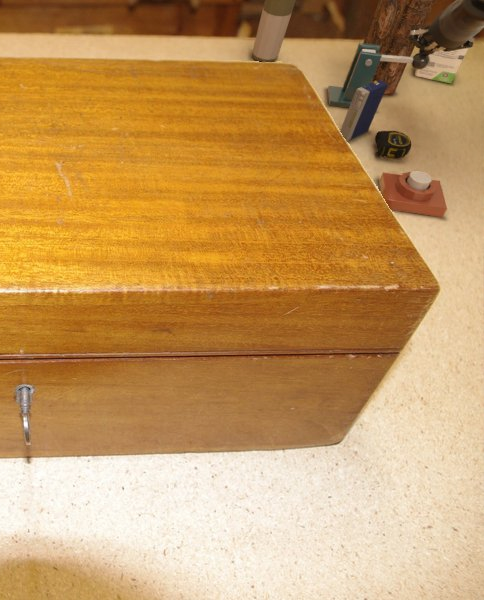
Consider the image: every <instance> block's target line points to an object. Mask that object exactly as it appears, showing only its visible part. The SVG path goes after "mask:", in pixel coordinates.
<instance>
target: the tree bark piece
mask: <svg viewBox="0 0 484 600" xmlns="http://www.w3.org/2000/svg"><path fill="white" fill-rule="evenodd" d="M435 3H436V0H378V2H377V5H376V9H375V12H374V14H373V17H372V18H371V21H370V24H369V27H368V29H367V31H366V35H365V37H364V40H363V42H362V43H366V44H374V45H380V49H379V51H378V53H379V54H382V55H393V56H405V57H412V55H413V52H414V49H415V48H416V46H415V45H414V44H413V43H412V42H411V41H410V40H409V36H410V31H411V27H418V28H419V29H421V30H422V29H424V28H425V27H424V26H425V24H426V22H427V20H428V18H429V15H430V13H431V11H432V8H433V6H434V4H435ZM407 65H408V63H399V62H387V61H380V62H379V64H378V67H377V69H376V72H375V74H374V76H373V79H372V81H371V83H373V82H374V81H377V80H381V81H383V82H385V83H386V84H388V85H387V88H386V90H385V92H384V95H383V97H388V96H393V95H394V94H395V92H396V90H397V88H398V86H399V83H400V81H401V79H402V76H403V74H404V72H405V70H406V68H407Z"/></svg>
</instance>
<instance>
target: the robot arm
mask: <svg viewBox="0 0 484 600" xmlns="http://www.w3.org/2000/svg"><path fill="white" fill-rule="evenodd" d="M483 29H484V0H455V1H453V2H451V3H450V4H449V5H448V6H447V7H446V8H445V9H444V10H443V11H441V12H440V13H439V14H438V15H437V16H436V17H435V18H434V20H433V21H432V22H431V23H430V24H428V25H425V27H423V29H422V30H421V29H419V28H418V27H411V31H410V36H409V40H410V41H411V42H412V43H413V44H414V45H415V48H417V49H419V50H418V53H420V55H423V56H428V55H430V54H433V53H434V52H437V51H439V50H443V51H444V52H448V51H454V50H459V49H465V48H468V49H470V48H473V46H474V43H475V36H476V35H477V34H479V33H480V32H481V31H482V30H483Z"/></svg>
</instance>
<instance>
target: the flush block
mask: <svg viewBox="0 0 484 600" xmlns="http://www.w3.org/2000/svg"><path fill="white" fill-rule="evenodd" d="M411 172H412V171H406V172H402V173H401V174H396V173H390V172H383V171H382V173H381V175H380V177H379V179H378V184H379V191H380V195H381V194H382V196H383V198H384V199H385V201H386V203H387V204H388V206H389V208H390V209H389V210H393V211H399V212H406V213H412V214H419V215H425V216H431V217H438V218H443V217H444V215H445V213H446V212H447V210H448V207H447V203H446V198H445V195H444V191H443V187H442V184H441V180H438V179H432V181H431V183H430V185H429V186H428V188H427V189H426V190H418V189H415V188H412V187H410V186H409V185H408V184H407V182H406V181H407V179H408V177H409V175H410V173H411Z"/></svg>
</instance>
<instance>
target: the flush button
mask: <svg viewBox="0 0 484 600" xmlns="http://www.w3.org/2000/svg"><path fill="white" fill-rule="evenodd" d="M410 172H411V173H410V175H409V177H408V179H407V181H406V182H407V184H408V185H409V186H410V187H412V188H415V189H418V190H426V189H427V188H428V186H429V185H430V183H431V181H432V180H433V178H432V176H431V175H429V174H428V173H427V172H425V171H422V170H413V171H410Z"/></svg>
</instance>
